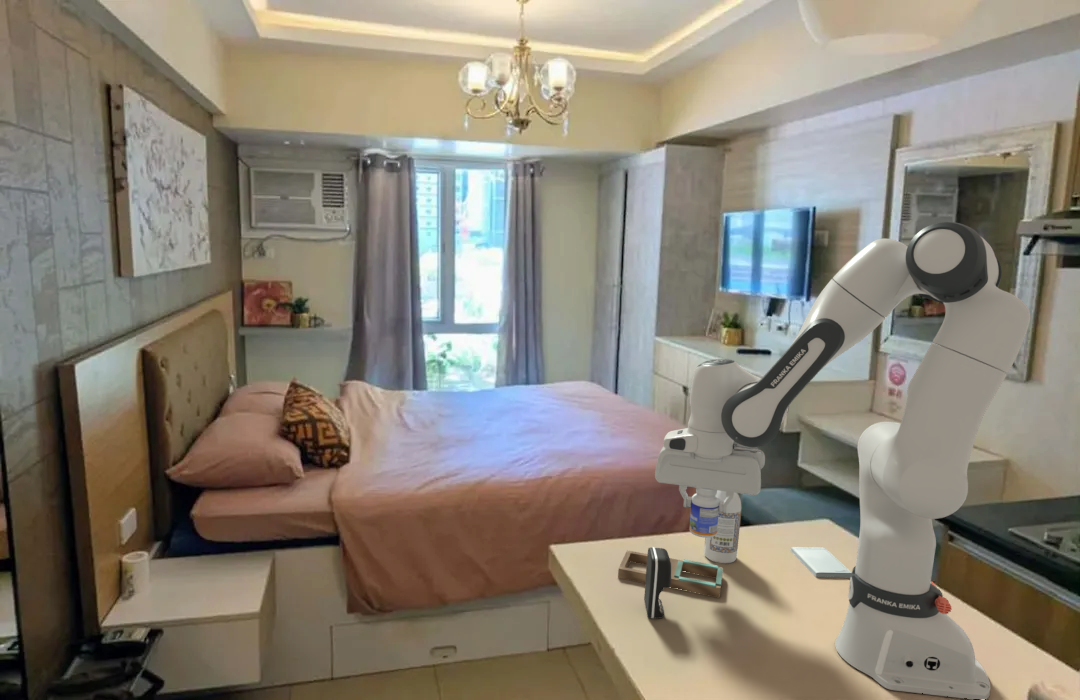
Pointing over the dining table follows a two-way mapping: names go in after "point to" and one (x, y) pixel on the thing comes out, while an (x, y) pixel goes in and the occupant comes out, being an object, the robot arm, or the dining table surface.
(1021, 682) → the dining table surface
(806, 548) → the hard drive
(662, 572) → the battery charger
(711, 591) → the wooden frame
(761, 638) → the dining table surface
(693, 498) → the pill bottle
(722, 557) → the bath foam
